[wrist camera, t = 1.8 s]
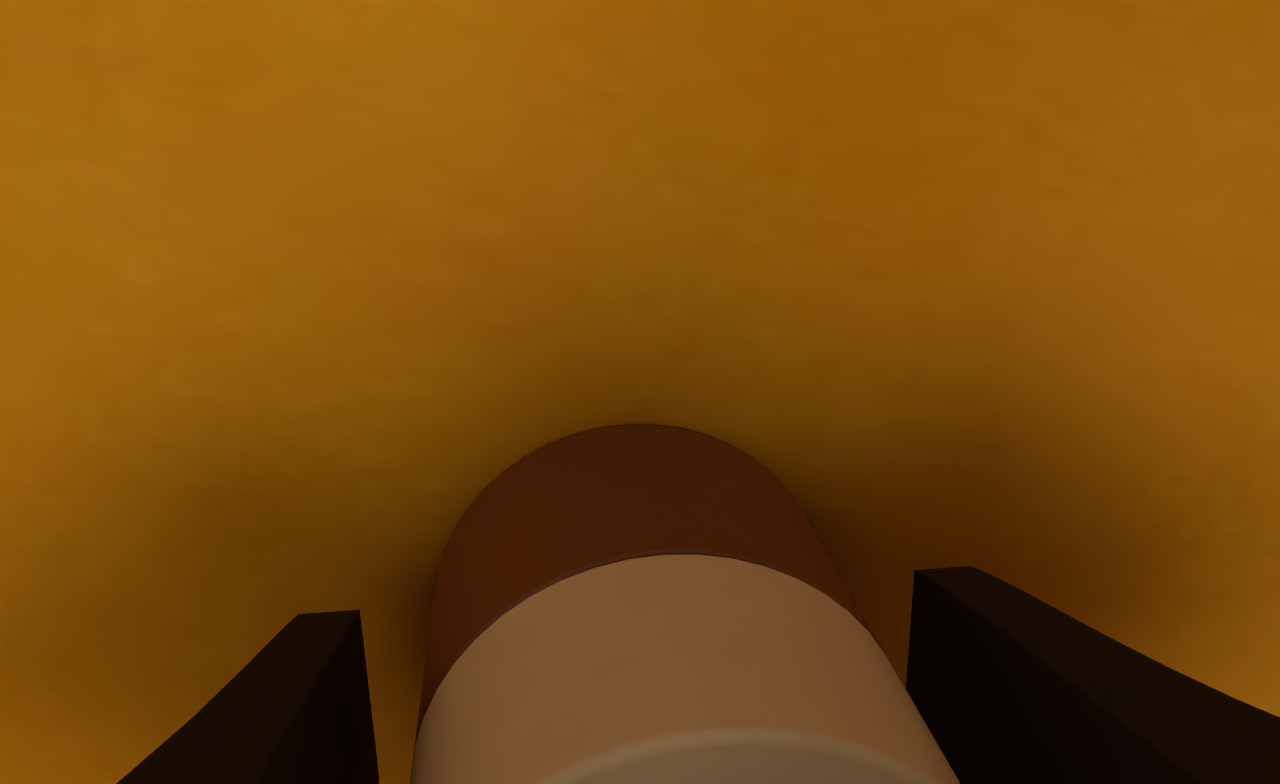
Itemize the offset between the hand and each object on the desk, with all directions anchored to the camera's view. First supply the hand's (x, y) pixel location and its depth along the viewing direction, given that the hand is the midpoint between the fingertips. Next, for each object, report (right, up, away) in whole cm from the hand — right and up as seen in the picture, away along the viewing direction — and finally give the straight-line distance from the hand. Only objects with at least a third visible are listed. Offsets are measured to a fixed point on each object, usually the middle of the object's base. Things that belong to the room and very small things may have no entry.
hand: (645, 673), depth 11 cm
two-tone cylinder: (0, 0, +1) cm, 1 cm away
